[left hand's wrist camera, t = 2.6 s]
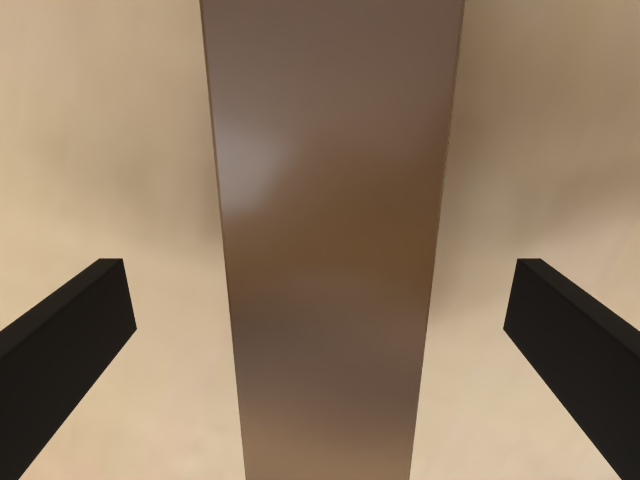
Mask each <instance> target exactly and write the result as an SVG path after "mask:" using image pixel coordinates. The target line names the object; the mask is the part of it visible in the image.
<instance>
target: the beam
mask: <svg viewBox="0 0 640 480" xmlns="http://www.w3.org/2000/svg"><path fill="white" fill-rule="evenodd" d="M199 2H200V12H201V22H202V33H203V43H204V53H205V64H206V74H207V84H208V95H209V105H210V115H211V126H212V136H213V146H214V157H215V167H216V177H217V187H218V198H219V208H220V218H221V229H222V239H223V249H224V260H225V270H226V280H227V291H228V301H229V311H230V322H231V332H232V342H233V353H234V363H235V373H236V384H237V394H238V404H239V415H240V425H241V435H242V446H243V456H244V466H245V477H246V480H409V477H410V469H411V460H412V452H413V443H414V434H415V426H416V417H417V409H418V400H419V391H420V383H421V374H422V366H423V357H424V349H425V340H426V331H427V323H428V314H429V306H430V297H431V289H432V280H433V271H434V263H435V254H436V246H437V237H438V228H439V220H440V211H441V203H442V194H443V186H444V177H445V168H446V160H447V151H448V143H449V134H450V125H451V117H452V108H453V100H454V91H455V83H456V74H457V65H458V57H459V48H460V40H461V31H462V22H463V14H464V5H465V0H199Z"/></svg>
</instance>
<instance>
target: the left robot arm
mask: <svg viewBox="0 0 640 480" xmlns="http://www.w3.org/2000/svg"><path fill="white" fill-rule="evenodd" d="M136 330H137V327H136V322H135V317H134V313H133V308H132V303H131V298H130V293H129V288H128V283H127V278H126V273H125V268H124V263H123V259H98V260H97V261H95V262H94V263H93V264H91V265H90V266H89V267H87V268H86V269H85V270H83V271H82V272H80V273H79V274H78V275H76V276H75V277H74V278H72V279H71V280H70V281H68V282H67V283H65V284H64V285H63V286H61V287H60V288H59V289H57V290H56V291H55V292H53V293H52V294H51V295H49V296H48V297H46V298H45V299H44V300H42V301H41V302H40V303H38V304H37V305H36V306H34V307H33V308H31V309H30V310H29V311H27V312H26V313H25V314H23V315H22V316H21V317H19V318H18V319H17V320H15V321H14V322H12V323H11V324H10V325H8V326H7V327H6V328H4V329H3V330H2V331H0V480H18V479H19V478H20V477H21V476H22V474H23V473H24V472H25V471H26V469H27V468H28V467H29V466H30V464H31V463H32V462H33V460H34V459H35V458H36V457H37V455H38V454H39V453H40V452H41V450H42V449H43V448H44V446H45V445H46V444H47V443H48V441H49V440H50V439H51V438H52V436H53V435H54V434H55V432H56V431H57V430H58V429H59V427H60V426H61V425H62V424H63V422H64V421H65V420H66V418H67V417H68V416H69V415H70V413H71V412H72V411H73V410H74V408H75V407H76V406H77V405H78V403H79V402H80V401H81V399H82V398H83V397H84V396H85V394H86V393H87V392H88V391H89V389H90V388H91V387H92V385H93V384H94V383H95V382H96V380H97V379H98V378H99V377H100V375H101V374H102V373H103V371H104V370H105V369H106V368H107V366H108V365H109V364H110V363H111V361H112V360H113V359H114V358H115V356H116V355H117V354H118V352H119V351H120V350H121V349H122V347H123V346H124V345H125V344H126V342H127V341H128V340H129V338H130V337H131V336H132V335H133V333H134V332H135V331H136ZM503 330H504V331H505V332H506V333H507V335H508V336H509V337H510V338H511V340H512V341H513V342H514V344H515V345H516V346H517V347H518V349H519V350H520V351H521V352H522V354H523V355H524V356H525V358H526V359H527V360H528V361H529V363H530V364H531V365H532V366H533V368H534V369H535V370H536V371H537V373H538V374H539V375H540V377H541V378H542V379H543V380H544V382H545V383H546V384H547V385H548V387H549V388H550V389H551V391H552V392H553V393H554V394H555V396H556V397H557V398H558V399H559V401H560V402H561V403H562V405H563V406H564V407H565V408H566V410H567V411H568V412H569V413H570V415H571V416H572V417H573V418H574V420H575V421H576V422H577V424H578V425H579V426H580V427H581V429H582V430H583V431H584V432H585V434H586V435H587V436H588V438H589V439H590V440H591V441H592V443H593V444H594V445H595V446H596V448H597V449H598V450H599V452H600V453H601V454H602V455H603V457H604V458H605V459H606V460H607V462H608V463H609V464H610V466H611V467H612V468H613V469H614V471H615V472H616V473H617V474H618V476H619V477H620V478H621V479H622V480H640V331H638V330H637V329H636V328H634V327H633V326H632V325H630V324H629V323H628V322H626V321H625V320H623V319H622V318H621V317H619V316H618V315H617V314H615V313H614V312H613V311H611V310H610V309H609V308H607V307H606V306H604V305H603V304H602V303H600V302H599V301H598V300H596V299H595V298H594V297H592V296H591V295H589V294H588V293H587V292H585V291H584V290H583V289H581V288H580V287H579V286H577V285H576V284H575V283H573V282H572V281H570V280H569V279H568V278H566V277H565V276H564V275H562V274H561V273H560V272H558V271H557V270H555V269H554V268H553V267H551V266H550V265H549V264H547V263H546V262H545V261H543V260H542V259H517V263H516V268H515V273H514V278H513V283H512V288H511V293H510V298H509V303H508V308H507V313H506V317H505V322H504V327H503Z"/></svg>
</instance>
